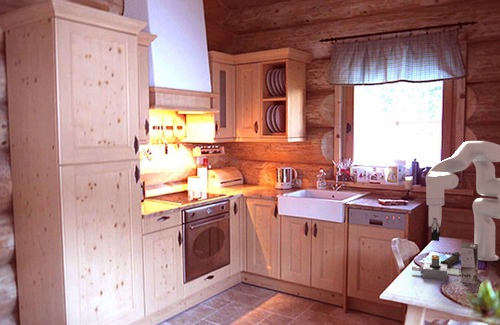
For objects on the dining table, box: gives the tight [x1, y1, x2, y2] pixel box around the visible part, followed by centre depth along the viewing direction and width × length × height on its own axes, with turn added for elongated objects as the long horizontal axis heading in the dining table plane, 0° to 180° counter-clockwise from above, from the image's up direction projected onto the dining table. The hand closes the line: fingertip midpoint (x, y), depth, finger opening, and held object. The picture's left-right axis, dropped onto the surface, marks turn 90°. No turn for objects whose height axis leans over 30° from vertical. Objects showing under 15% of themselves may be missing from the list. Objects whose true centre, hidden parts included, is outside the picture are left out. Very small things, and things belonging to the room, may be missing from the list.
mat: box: [447, 267, 460, 276], centre depth 202 cm, size 8×8×1 cm
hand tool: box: [439, 251, 461, 268], centre depth 214 cm, size 19×4×5 cm, turn 131°
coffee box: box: [460, 242, 479, 285], centre depth 190 cm, size 9×6×16 cm
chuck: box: [411, 261, 448, 282], centre depth 197 cm, size 10×15×5 cm, turn 64°
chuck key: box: [431, 254, 440, 268], centre depth 196 cm, size 3×3×9 cm
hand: (435, 237), depth 195 cm, fingers open, 9 cm apart
